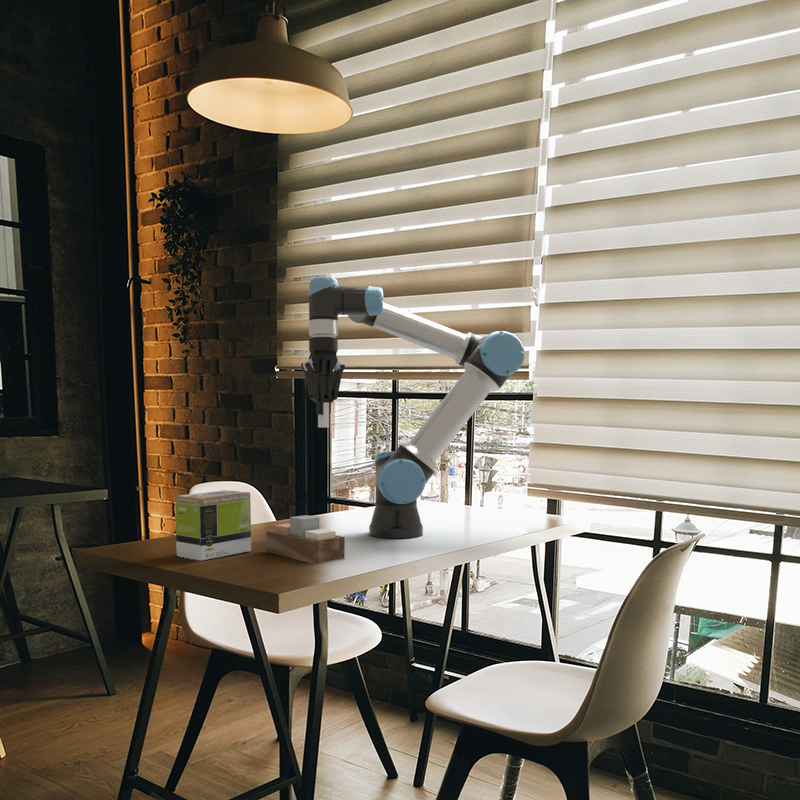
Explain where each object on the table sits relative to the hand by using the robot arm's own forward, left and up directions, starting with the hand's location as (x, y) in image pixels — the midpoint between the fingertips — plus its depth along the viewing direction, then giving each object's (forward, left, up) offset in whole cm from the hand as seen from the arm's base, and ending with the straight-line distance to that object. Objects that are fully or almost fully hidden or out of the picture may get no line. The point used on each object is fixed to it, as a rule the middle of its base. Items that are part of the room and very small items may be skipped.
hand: (323, 427), depth 189 cm
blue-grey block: (+12, +9, -27) cm, 31 cm away
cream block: (+12, +16, -30) cm, 36 cm away
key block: (+12, +9, -30) cm, 34 cm away
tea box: (+28, -6, -31) cm, 42 cm away
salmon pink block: (+12, +3, -30) cm, 32 cm away
